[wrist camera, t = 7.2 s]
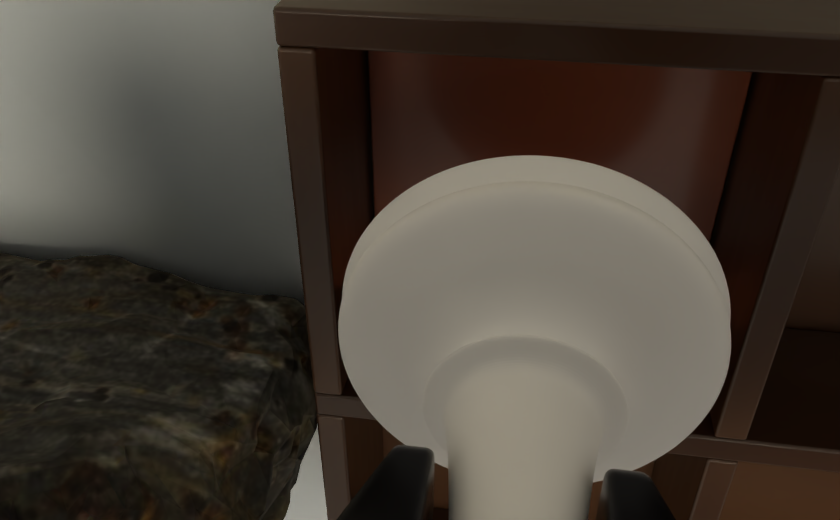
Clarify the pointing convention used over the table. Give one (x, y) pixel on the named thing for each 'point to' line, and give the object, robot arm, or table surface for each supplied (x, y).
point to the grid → (614, 149)
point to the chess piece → (534, 329)
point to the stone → (147, 395)
